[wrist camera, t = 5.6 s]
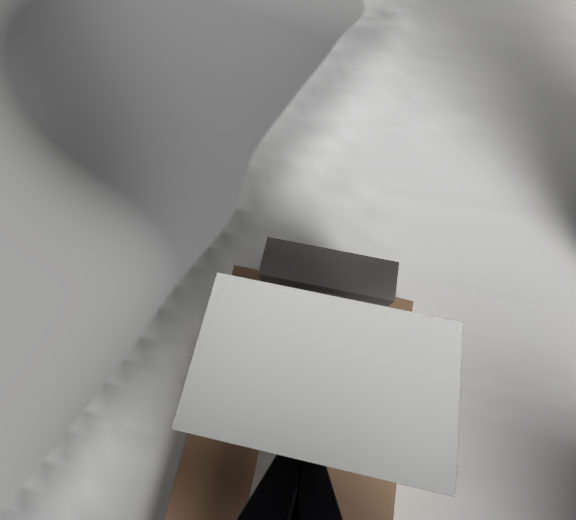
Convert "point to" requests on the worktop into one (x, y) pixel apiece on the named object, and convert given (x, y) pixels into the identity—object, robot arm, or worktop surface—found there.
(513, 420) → the worktop surface
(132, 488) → the worktop surface
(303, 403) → the white slider block
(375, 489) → the pipe stand
